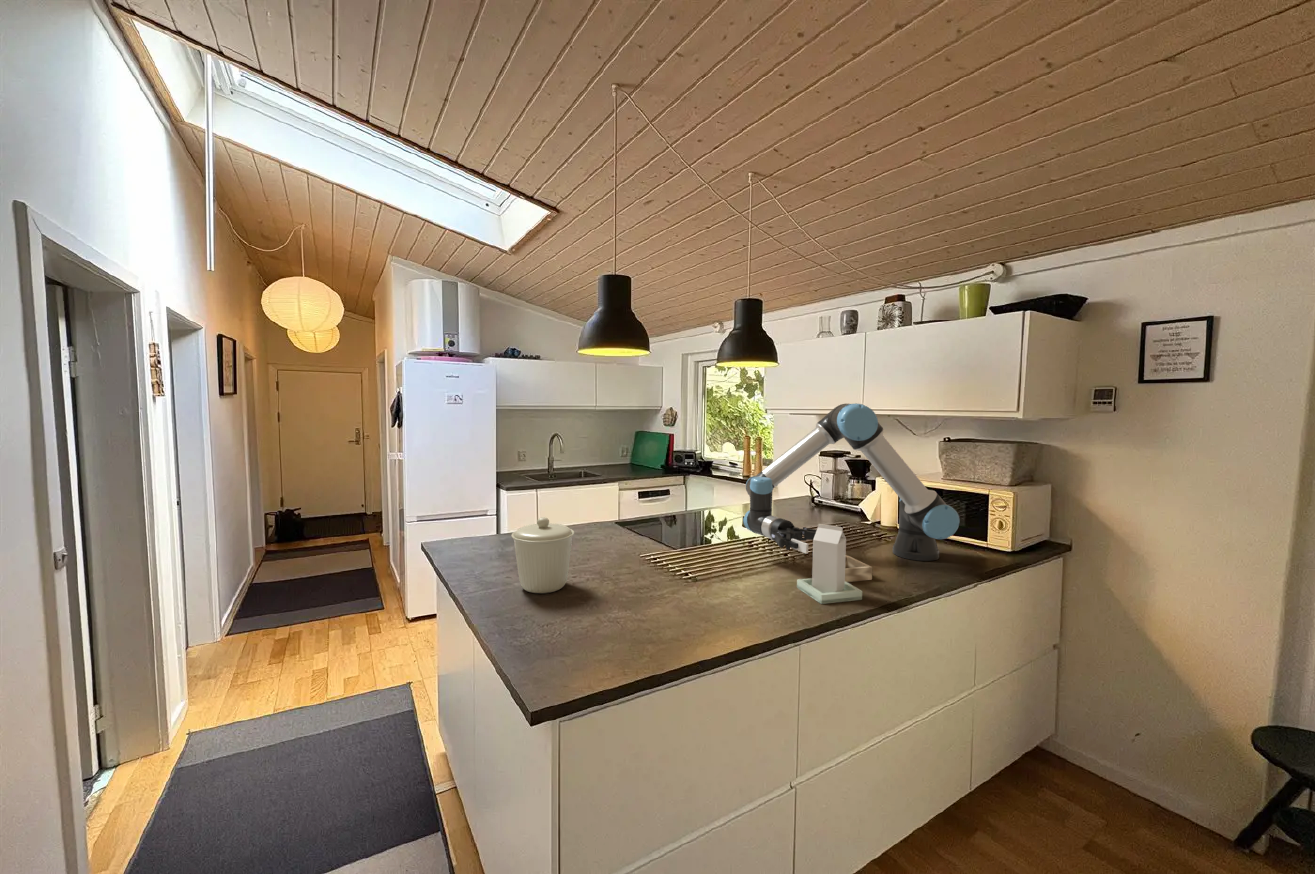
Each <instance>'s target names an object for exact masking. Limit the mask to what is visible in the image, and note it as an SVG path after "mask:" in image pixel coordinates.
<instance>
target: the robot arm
mask: <svg viewBox="0 0 1315 874" xmlns="http://www.w3.org/2000/svg"><path fill="white" fill-rule="evenodd" d="M884 430H885V429H884V427H883V426H882V425H881V423H880V422H879V420H878V417H877V415H876V412H874V410H873V409H872V408H871V407H869V406H868V405H865V404H862V403H856V402H855V403H842V404H840V405H839V404H838V405H837V406H835V407H834V408H833V409H831V410H830V411H829V412H828V413H827V414H826V415H825V416H824V417H822V418H820V420H819V421H818V422H816V423H815V427H814V429H812V430H811V431H809V433H807V434H806V435H805V436H804V437H802V438H801V439H799V441H797V442H796V443H795V444H794V445H791V447H790V448H789V449H788V450H786V451H784V452H783V453H782V454H781V455H780V456H779V457H777V458H776V459H775V460H773V461H772V462H771V463H770V464H769V465H767V466H765V468H763V469H762V470H761V471H760V472H758V473H757V474H756V475H754V476H751V477H749V478H748V479H747V481H746V483H745V490H746V492H747V495H749V510H747V511H746V512H745V514H744V516H743V518H742V519H743V525H744V527H745V528H746V529H747V530H748V531H750V532H752V533H753V534H757V535H760V536H763V537H765V538H768V539H770V540H771V541H772V542H773V541H774V542H775V543H776V544H777V546H779V548H781V549H782V548H784V547H785V550H787V551H791V549H793V550H796V551H798V552H800V553H803V554H809V543H806V542H804V541H807V540H810V541H813V539H814V536H815V534H816V531H817V529H815V528H809V527H802V528H799V527H796V526H795V525H794V524H793V523H792V521H790V520H788V519H784V518H782V517H778V516H777V515H773V490H774V488H776V487H777V486H778V485H780V484H781V483H782V482H783V481H784V480H786V479H787V478H789V476H790V475H792V474H793V473H794V472H796V471H798V469H800V468H801V467H802V466H803V465H805V464H806V463H807V462H808V461H810V460H812V458H814V457H815V456H816V455H818V453H820V452H821V451H822V450H824V449H825V448H826V447H828V446H829V445H835V444H836V443H838V442H839V441H840V440H842V439H844V440H845V441H846V442H847V443H848V445H849V446H850V447H851V448H852V449H853V451H860V452H861V453H862V454H863V455H864V457H865V458H866V459H867V460H868V461H869V463H870V464H871V465H872V466H873V467H874V469H875V470H876V471H877V472H878V473H879V475H880V476H881V477H882V479H884V481H885V482H886V484H888V486H889V487H890V488H891V489H892V490H893V491H894V493H895V494H896V495H897V496H898V498H899V501H898V502H899V513H898V517H899V518H898V533H897V535H896V538H895V541H894V544H893V545H892V554H894V555H895V556H897V557H900V558H902V559H908V560H913V561H920V562H921V561H922V562H923V561H924V562H930V561H931V562H932V561H936V560H938V559H940V550H939V547H938V543H937V540H946V539H948V538H950V537H952V536H954V534H955V533H956V532H957V531H958V529H959V526H960V514H959V513H958V512H957V510H956V509H955V508H953V506H951V505H948V504H947V503H946V502H945V501H944V500H943V499H942V497H941V496H940V495H939V494H938V493H937V491H935V490H933V489H928V488H927V487H926V486H925V484H924V483H923V482H922V480H920V478H919V477H918V476H917V475H916V474H915V472H914V471H913V469H911V468H910V467H909V465H908V464H907V463H906V462H905V461H904V459H903V458H902V457H901V456H900V454H899V453H898V452H897V451H896V449H895V448H894V447H893V446H892V445H891V444H890V442H889V441H888V440H887V438H886V437H885V436H884Z"/></svg>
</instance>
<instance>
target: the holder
mask: <svg viewBox="0 0 1315 874" xmlns="http://www.w3.org/2000/svg"><path fill="white" fill-rule="evenodd" d="M811 565H812V567H813V563H812V564H811ZM872 579H873V566H871V565H869V564H867V563H865V562H862V561H861V560H859V559H857V558H854V557H852V556H850V555H847V554H846V558H845V582H847V583H851V582H861V581H862V582H863V581H870V580H872Z"/></svg>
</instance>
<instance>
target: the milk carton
mask: <svg viewBox="0 0 1315 874" xmlns="http://www.w3.org/2000/svg"><path fill="white" fill-rule="evenodd" d="M816 530H817V531H816V534H815V536H814V539H813V540H812V542H813V543H812V564H813V567H812V568H811V575H812V576H811V578H812V587H814V588H815V589H817V590H819V591H820V592H822V593H830V592H840V591H842V590H843V589H844V588H845V558H846V555H847V554H846V553H847V552H846V550H847V549H846V548H847V537H846V536H845V533H844V532H843V531H844V530H843V526H842V527H841V526H837V525H836V526H835V525H830V524H824V523H823V524H822V523H818V524H817V529H816Z"/></svg>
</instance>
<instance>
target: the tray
mask: <svg viewBox="0 0 1315 874" xmlns="http://www.w3.org/2000/svg"><path fill="white" fill-rule="evenodd" d="M796 588H797V589H798V590H799V591H801V592H803V593H804V594H806V595H807V596H808V597H810V598H812V599H813V600H815V601H816V602H817V603H819V604H821V605H825V604H834V603H842V602H843V603H845V602H851V601H852V602H853V601H854V602H855V601H861V600H863V590H861V589H860V588H858V587H856V586H855V585H852V583H850V582H845V588H844V589H843V590H842V591H840V592H830V593H822V592H820V591H819V590H817V589H815V588H814V587H812V577H809V578H808V577H807V578H799V579H798V578H797V579H796Z"/></svg>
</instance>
